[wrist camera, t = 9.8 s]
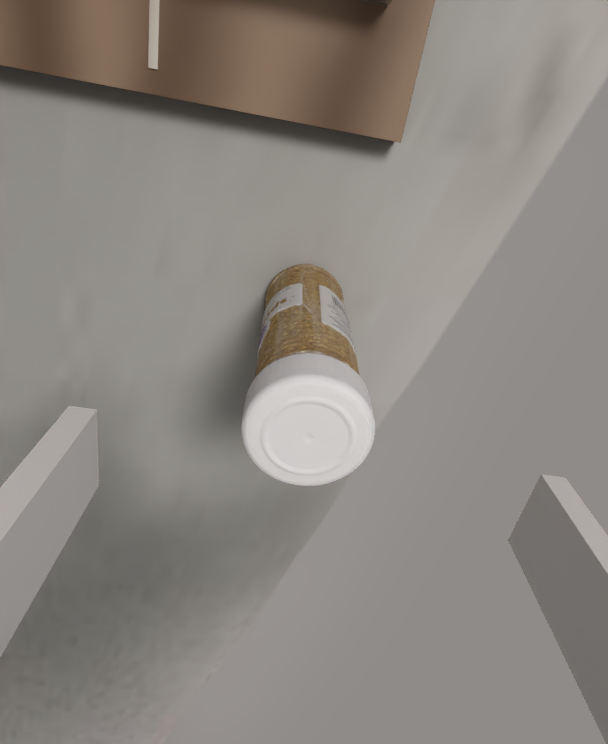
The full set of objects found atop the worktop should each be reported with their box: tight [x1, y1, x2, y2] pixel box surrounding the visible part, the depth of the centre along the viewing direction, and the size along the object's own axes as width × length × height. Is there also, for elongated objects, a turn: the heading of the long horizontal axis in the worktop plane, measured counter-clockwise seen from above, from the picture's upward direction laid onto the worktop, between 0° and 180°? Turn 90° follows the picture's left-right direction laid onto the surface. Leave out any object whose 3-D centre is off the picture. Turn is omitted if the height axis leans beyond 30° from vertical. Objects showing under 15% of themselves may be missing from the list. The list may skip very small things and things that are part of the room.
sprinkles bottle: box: [241, 264, 375, 486], centre depth 22 cm, size 5×5×14 cm
